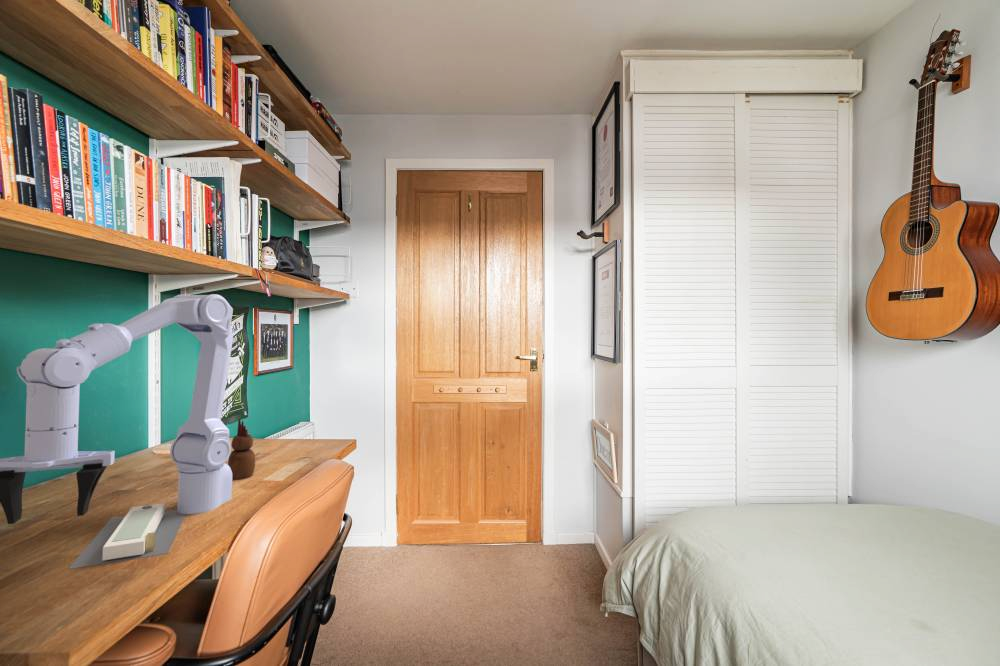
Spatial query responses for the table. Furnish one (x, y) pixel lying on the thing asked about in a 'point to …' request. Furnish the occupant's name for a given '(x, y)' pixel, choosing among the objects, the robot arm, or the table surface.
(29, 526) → the table surface
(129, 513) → the frame
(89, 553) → the board
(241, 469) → the wooden figurine
